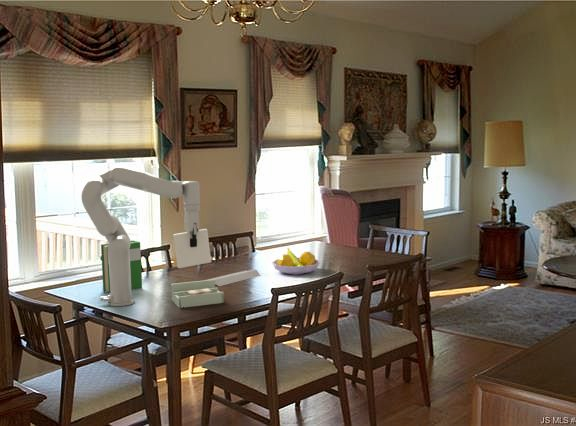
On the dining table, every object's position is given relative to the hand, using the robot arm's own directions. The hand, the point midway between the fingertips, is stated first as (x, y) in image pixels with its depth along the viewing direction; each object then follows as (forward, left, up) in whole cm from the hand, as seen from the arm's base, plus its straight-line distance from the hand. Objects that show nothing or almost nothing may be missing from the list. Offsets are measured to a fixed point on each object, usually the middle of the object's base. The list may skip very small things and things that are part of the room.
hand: (192, 246), depth 314 cm
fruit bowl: (+68, +35, -26) cm, 81 cm away
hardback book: (-28, +35, -26) cm, 52 cm away
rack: (0, -5, -26) cm, 26 cm away
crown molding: (+30, +33, -26) cm, 52 cm away
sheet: (+1, 0, -9) cm, 9 cm away
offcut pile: (0, -8, -26) cm, 27 cm away
